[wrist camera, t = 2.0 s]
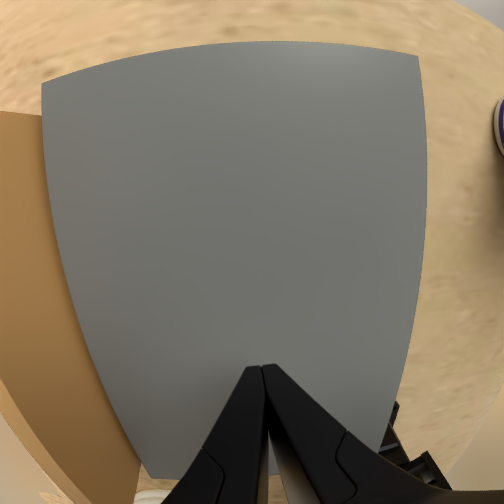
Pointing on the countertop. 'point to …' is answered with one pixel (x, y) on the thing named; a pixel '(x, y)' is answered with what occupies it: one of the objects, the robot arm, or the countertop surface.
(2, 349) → the side door
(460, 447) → the countertop surface
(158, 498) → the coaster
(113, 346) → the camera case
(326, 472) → the robot arm
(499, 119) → the energy drink
